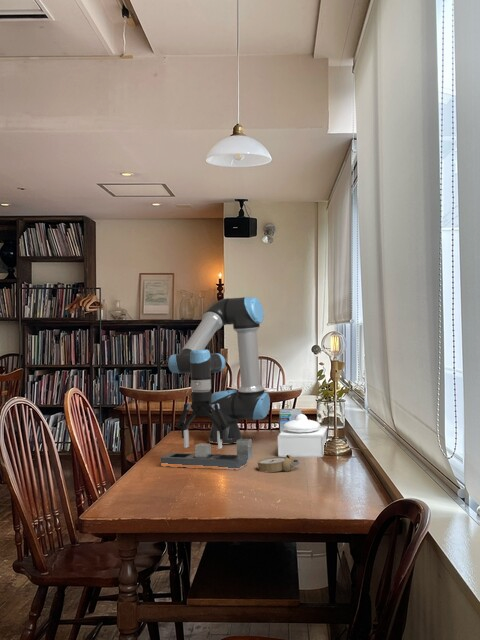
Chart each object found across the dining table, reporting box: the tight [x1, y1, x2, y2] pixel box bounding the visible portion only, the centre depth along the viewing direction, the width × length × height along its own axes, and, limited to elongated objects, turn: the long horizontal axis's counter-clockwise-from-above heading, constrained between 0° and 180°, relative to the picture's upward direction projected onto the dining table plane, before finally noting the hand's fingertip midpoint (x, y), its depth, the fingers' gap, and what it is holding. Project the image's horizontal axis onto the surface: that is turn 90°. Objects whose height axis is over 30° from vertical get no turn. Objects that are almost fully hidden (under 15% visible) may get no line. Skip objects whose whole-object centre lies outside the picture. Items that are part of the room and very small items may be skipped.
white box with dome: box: [277, 413, 328, 458], centre depth 251 cm, size 18×18×16 cm
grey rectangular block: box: [194, 442, 212, 459], centre depth 232 cm, size 4×4×8 cm
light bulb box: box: [279, 408, 303, 434], centre depth 304 cm, size 11×7×11 cm, turn 80°
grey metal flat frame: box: [160, 452, 248, 468], centre depth 233 cm, size 10×31×4 cm, turn 70°
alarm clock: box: [255, 455, 300, 473], centre depth 223 cm, size 11×5×15 cm
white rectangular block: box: [236, 438, 253, 460], centre depth 240 cm, size 4×4×8 cm
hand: (203, 447), depth 233 cm, fingers open, 13 cm apart
